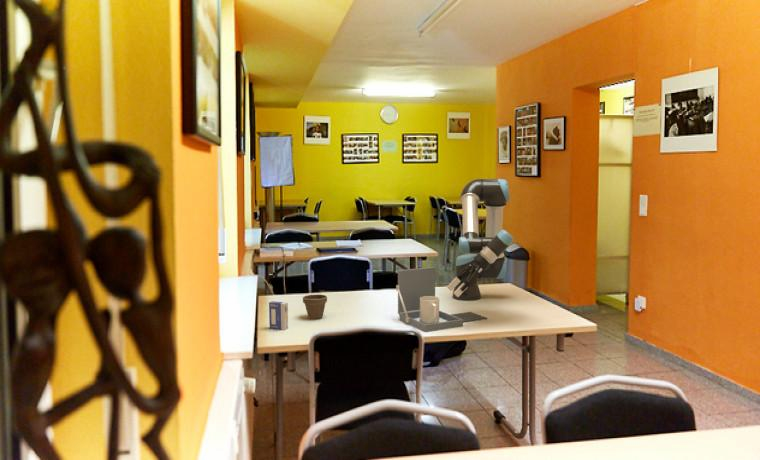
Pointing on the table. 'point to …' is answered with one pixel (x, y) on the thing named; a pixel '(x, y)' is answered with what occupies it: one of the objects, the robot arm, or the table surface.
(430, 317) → the mug
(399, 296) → the equipment case
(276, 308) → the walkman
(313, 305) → the flower pot
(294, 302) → the table surface
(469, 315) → the rubber mat
